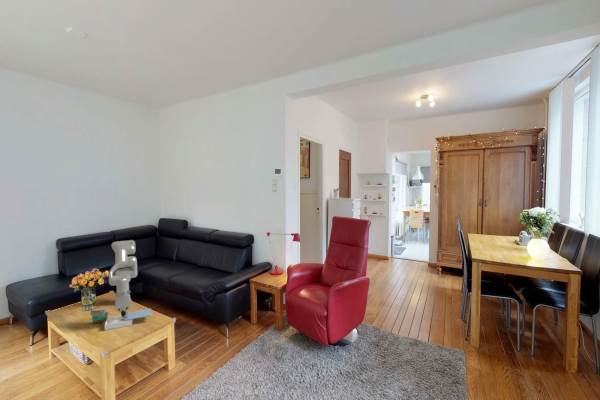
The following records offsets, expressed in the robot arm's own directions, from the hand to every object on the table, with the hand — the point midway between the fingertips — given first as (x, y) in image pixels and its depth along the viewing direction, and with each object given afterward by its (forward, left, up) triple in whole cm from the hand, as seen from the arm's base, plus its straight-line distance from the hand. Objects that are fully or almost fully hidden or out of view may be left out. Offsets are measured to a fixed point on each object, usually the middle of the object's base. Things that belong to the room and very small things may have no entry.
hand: (123, 315), depth 214 cm
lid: (0, +10, -1) cm, 10 cm away
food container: (-9, -18, -6) cm, 21 cm away
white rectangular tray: (0, -3, -6) cm, 7 cm away
